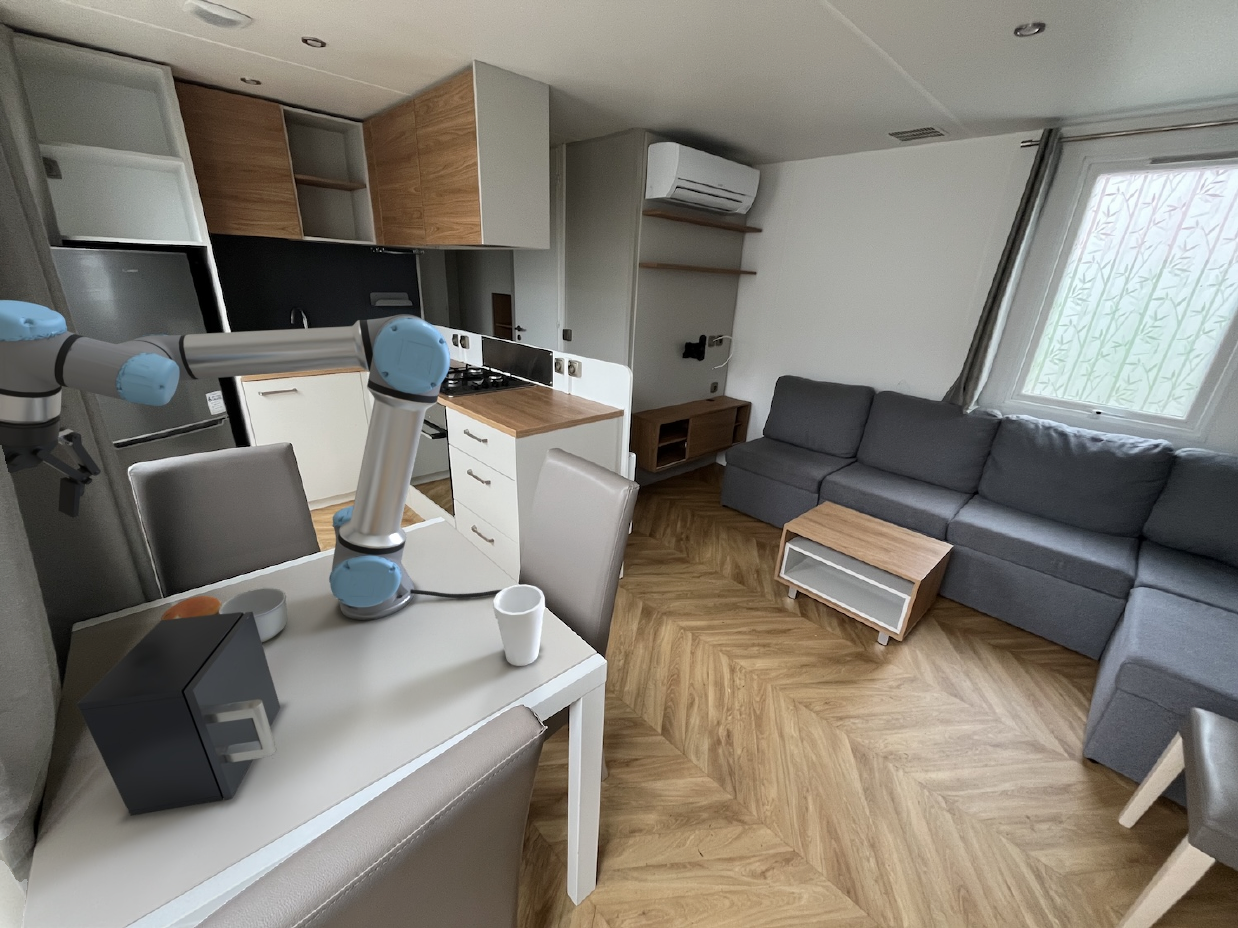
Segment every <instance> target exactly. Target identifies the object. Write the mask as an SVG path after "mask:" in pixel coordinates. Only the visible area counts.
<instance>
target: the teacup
mask: <svg viewBox="0 0 1238 928" xmlns="http://www.w3.org/2000/svg"><path fill="white" fill-rule="evenodd" d="M221 604H222V605H221V607H220V609H219V614H227V613H237V612H243V613H244V614H245V612H253V615H254V618H255V622H256V625H257V629H258V632H259V636H260V639H261V642H262V643H264V642H267V641H269V640H271V639H272V638H274V637H276V636H277V635H278V634H279V633H280V632H281V631H283V629H284V628H285V627H286V625H287V622H288V617H289V614H288V613H289V612H288V605H287V594H286V592H285V591H284V590H282V589H280V588H275V587H259V588H254V589H249V590H246V591H243V592H240V593H238V594H236V595H233V596H232V597H230V598H228V599H227V600H226V601H224V602H223V603H221Z"/></svg>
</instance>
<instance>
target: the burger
mask: <svg viewBox="0 0 1238 928" xmlns="http://www.w3.org/2000/svg"><path fill="white" fill-rule="evenodd" d="M222 604H223V603H222V602H221V600H220V599H219V598H216V597H214V596H208V595H198V596H193V597H189V598H186V599H184V600H182V601H180V602H178V603H176V604H174V605H172V606H171V607H169V608H168V609H166V611H164V613H162V615H161V617H160V621H161V620H168V619H178V618H187V617H197V616H207V615H217V614H219V609H220V607H221V605H222Z"/></svg>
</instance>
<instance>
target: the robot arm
mask: <svg viewBox="0 0 1238 928" xmlns="http://www.w3.org/2000/svg"><path fill="white" fill-rule="evenodd" d="M450 365H451V353H450V350H449V345H448V343H447V340H446V339H445V337H444V336H443V335H442V333H441V332H440V330H438V329H437V327H435V326H433V324H432V323H430V322H428V321H427V320H425V319H424V318H422V317H419V316H416V315H413V314H404V313H403V314H396V315H393V316H392V315H391V316H387V317H380V318H374V319H372V318H371V319H358V320H356V321H355V322H354V324H353V325H349V326H347V325H346V326H333V327H332V326H331V327H327V326H326V327H311V328H310V327H309V328H291V329H272V330H270V329H269V330H250V331H233V332H232V331H230V332H211V333H192V334H191V333H189V334H177V335H176V334H175V335H174V334H173V335H167V334H162V333H153V334H144V335H141V336H139V337H136V338H134V339H130V340H127V341H124V342H119V343H111V342H107V341H103V340H99V339H94V338H91V337H87V336H85V335H81V334H78V333H75V332H71V331H69V330H68V326H67V323H66V319H65V317H64V316H63V315H62V314H61V313H60V312H58V311H56V310H52V309H50V308H49V307H47V306H44V305H40V304H38V303H33V302H28V301H21V300H11V299H0V445H2V449H3V452H4V455H5V461H6V464H7V468H8V472H9V474H14V473H17V472H18V473H19V472H21V471H23V470H25V469H26V470H27V469H34V468H37V467H39V465H40V464H42V463H45V464H47V466H49V467H51V468H53V469H56V470H57V471H59V472H60V473H62V474H63V475H66V476H64V477H60V480H59V492H58V493H59V494H58V510H57V511H58V512H60V513H62V514H64V515H66V516H69V517H70V518H72V519H73V518H77V517H79V513H80V502H81V501H80V500H81V497H83V496H84V494H85V490H86V489H85V488H86V486H87V485H90V484H91V483H92V482H93V478H92V476H95V477H96V476H99V475H100V474H101V472H102V471H101V469H100V468H99V466H98V465H97V463H96V462H95V461H94V459H93V457H92V456H91V455H90V454H89V452H88V451H87V449H86V448H85V447H84V445H83V442H82V441H83V440H82V434H81V433H79V432H77V431H75V430H73V429H71V428H69V427H67V426H61V427H60V424H61V423H60V422H61V417H60V415H61V411H62V393H63V392H62V391H63V389H62V388H64V387H65V388H68V389H74V390H77V391H83V392H87V393H91V394H95V395H99V396H104V397H109V398H113V399H116V400H122V401H125V402H128V403H132V404H141V405H147V406H154V407H163V406H166V405H167V404H168V403H169V402H170V401H171V399H172V398H173V397H174V395H175V393H176V390H177V388H178V386H179V385H178V384H179V382H187V381H196V380H205V379H218V378H232V377H233V378H234V377H243V376H244V377H245V376H257V375H258V376H259V375H272V374H273V375H274V374H284V373H297V372H298V373H299V372H311V371H312V372H313V371H324V370H338V369H351V368H352V369H353V368H361V369H363V370H364V371H366V372H368V373H369V374H368V379H367V385H366V389H367V390H368V391H369V392H370V394H371V396H373V399H374V400H373V404H372V409H371V414H370V419H369V426H368V429H367V436H366V439H365V440H366V441H365V445H364V451H363V455H362V461H361V466H360V469H359V470H360V471H359V477H358V481H357V486H356V491H355V495H354V500H353V501H354V502H353V505H350V506H347V507H344V508H341V509H339V510H338V511H336V512H335V513H334V514H333V516H332V525H331V526H332V527H333V529H334V535H335V543H334V550H333V551H334V552H333V558H332V566H331V572H330V574H329V577H328V581H329V586H330V587H329V588H330V591H331V593H332V595H333V597H334V598H335V599H338V601H339V607H340V611H341V613H342V614H343V615H344V616H345V617H346V618H349V619H352V620H355V621H356V620H357V621H370V620H377V619H381V618H384V617H387V616H390V615H392V614H393V615H394V614H395V613H397V612H399V611H400V610H402V609H404V608H405V607H406V606H408V604H410V603H411V602H412V601H413V598H414V596H415V595H422V596H432V597H440V598H446V599H469V598H470V599H471V598H481V597H488V596H494V595H495V596H496V594H497V593H499V592H500V591H502V590H503V589H496V590H495V589H494V590H490V591H489V590H487V591H482V592H471V593H446V592H438V591H431V590H422V589H420V590H419V589H415V585H414V582H413V580H412V578H411V576H410V575H409V573H408V572H407V570H406V568H405V567H404V565H403V563H402V559H403V555H404V550H405V545H406V541H407V532H406V531H405V529H403V527H402V526H401V524H402V521H403V517H404V511H405V506H406V502H407V498H408V493H409V489H410V484H411V480H412V475H413V472H414V471H413V470H414V466H415V462H416V457H417V452H418V448H419V444H420V438H421V435H422V430H423V425H424V420H425V417H426V413H427V412H426V411H427V410H428V409H429V408H431V407H433V406H434V405H437V403H438V398H439V394H440V390H441V386H442V383H443V381H444V380H445V378H446V377H447V375H448V372H449V369H450V367H451V366H450ZM59 444H60V445H61V446H62V447H63V449H64V450H65V451H66V453H67V454H68V455H69V456H70V458H71V459H72V460H73V462H74V463H75V464H76V465H77V467H78V468H77V469H76V468H75V467H73V466H71V465H70V464H68V463H66V462H64V461H63V460H61V459H60V458H58V457H57V456H55V455H54V454H52V452H53V451H54V449H55V448H56V447H57V446H58V445H59Z"/></svg>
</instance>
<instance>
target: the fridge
mask: <svg viewBox="0 0 1238 928" xmlns="http://www.w3.org/2000/svg"><path fill="white" fill-rule="evenodd" d="M243 615H244V613H243V612H237V613H227V614H217V615H207V616H197V617H187V618H178V619H168V620H161V619H160V620H159V622H158V623H157V624H156V625H154V627H153V628H151V630H149V632H147V634H145V635H144V636H143V637H142V639H140V640H139V641H138V642H137V643H136V644H135V646H133V648H131V649H130V650H129V651H128V652H127V653H126V654H125V655H124V656H123V657H122V659H120V660H119V661H118V662H117V663H116V664H115V665H114V666H113V667H112V668H111V669H110V670H109V671H108V672H107V673H106V674H104V676H103V677H102V678H101V679H100V680H99V681H98V682H97V683H96V684H95V685H94V686H93V687H91V689H90V690H89V691H88V692H87V693H86V694H85V695H84V696H83V697H82V698H81V699H80V700H79V701H77V703H76V706H77V708H78V710H79V712H80V713H81V716H82V718H83V720H84V723H85V724H86V726H87V728H88V730H89V731H88V732H90V735H91V738H92V739H93V741H94V742H95V745H96V747H97V749H98V751H99V753H100V756H101V758H102V761H103V762H104V764H105V766H106V768H107V770H108V773H109V774H110V776H111V779H112V780H113V783H114V784H115V787H116V789H117V791H118V793H119V795H120V798H121V799H122V801H123V804H124V805H125V808H126V810H127V811H128V813H129V816H130V817H132V816H138V815H144V814H145V815H146V814H149V813H155V812H163V811H167V810H168V811H169V810H174V809H181V808H186V807H192V806H198V805H204V804H209V803H216V802H221V801H223V800H225V799H224V797H223V794H222V791H221V789H220V786H219V784H218V781H217V778H216V776H215V773H214V770H213V768H212V765H211V762H210V760H209V757H208V754H207V752H206V749H205V746H204V744H203V741H202V738H201V736H200V733H199V730H198V728H197V725H196V722H195V720H194V717H193V714H192V712H191V709H190V706H189V704H188V701H187V698H186V696H185V693H184V690H185V689H186V688H187V687H188V685H189V684H190V683H191V681H192V680H193V679H194V678H195V676H196V675H197V674H198V672H199V671H200V670H201V669H202V667H203V666H204V665H205V664H206V662H207V661H208V660H209V658H210V657H211V656H212V655H213V653H214V652H215V651H216V649H217V648H218V647H219V646H220V644H221V643H222V642H223V640H224V639H225V638H226V637H227V635H228V634H229V633H230V632H231V630H232V629H233V628H234V626H235V625H236V624H237V623H238V621H239V620H240V619H241V617H242V616H243Z"/></svg>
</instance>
